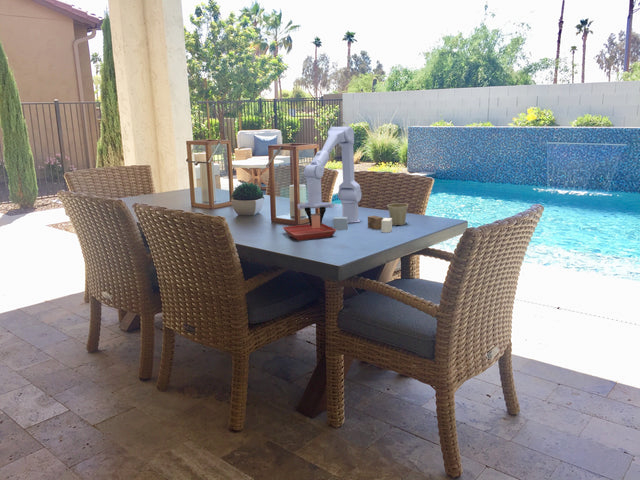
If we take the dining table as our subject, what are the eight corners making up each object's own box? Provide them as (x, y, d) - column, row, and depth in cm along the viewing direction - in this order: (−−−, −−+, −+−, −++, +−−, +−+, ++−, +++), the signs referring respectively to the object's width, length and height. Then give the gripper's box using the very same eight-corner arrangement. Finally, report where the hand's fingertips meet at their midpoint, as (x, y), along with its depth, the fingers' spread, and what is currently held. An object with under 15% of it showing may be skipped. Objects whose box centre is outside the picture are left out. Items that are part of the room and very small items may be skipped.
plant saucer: (282, 234, 226) (282, 226, 225) (321, 229, 232) (321, 222, 231) (295, 243, 209) (295, 235, 209) (337, 237, 215) (337, 230, 215)
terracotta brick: (311, 225, 225) (311, 214, 224) (319, 225, 225) (319, 213, 224) (312, 228, 219) (311, 216, 218) (320, 228, 220) (320, 216, 218)
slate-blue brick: (333, 229, 229) (333, 218, 228) (334, 228, 232) (333, 217, 231) (347, 229, 228) (346, 218, 227) (347, 228, 231) (347, 216, 230)
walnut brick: (367, 227, 230) (367, 216, 229) (374, 226, 232) (374, 215, 231) (376, 230, 225) (376, 218, 224) (382, 228, 227) (382, 217, 226)
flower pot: (384, 225, 233) (383, 206, 231) (391, 221, 241) (391, 202, 239) (404, 227, 229) (404, 207, 227) (411, 222, 237) (411, 203, 235)
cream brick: (384, 229, 226) (384, 217, 225) (392, 229, 225) (392, 218, 224) (381, 232, 221) (381, 220, 220) (389, 232, 220) (389, 220, 219)
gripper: (297, 195, 215) (298, 227, 219) (332, 193, 216) (333, 226, 219) (297, 192, 222) (298, 224, 226) (331, 191, 223) (332, 222, 226)
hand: (315, 225), depth 223 cm, fingers closed on terracotta brick, 3 cm apart
